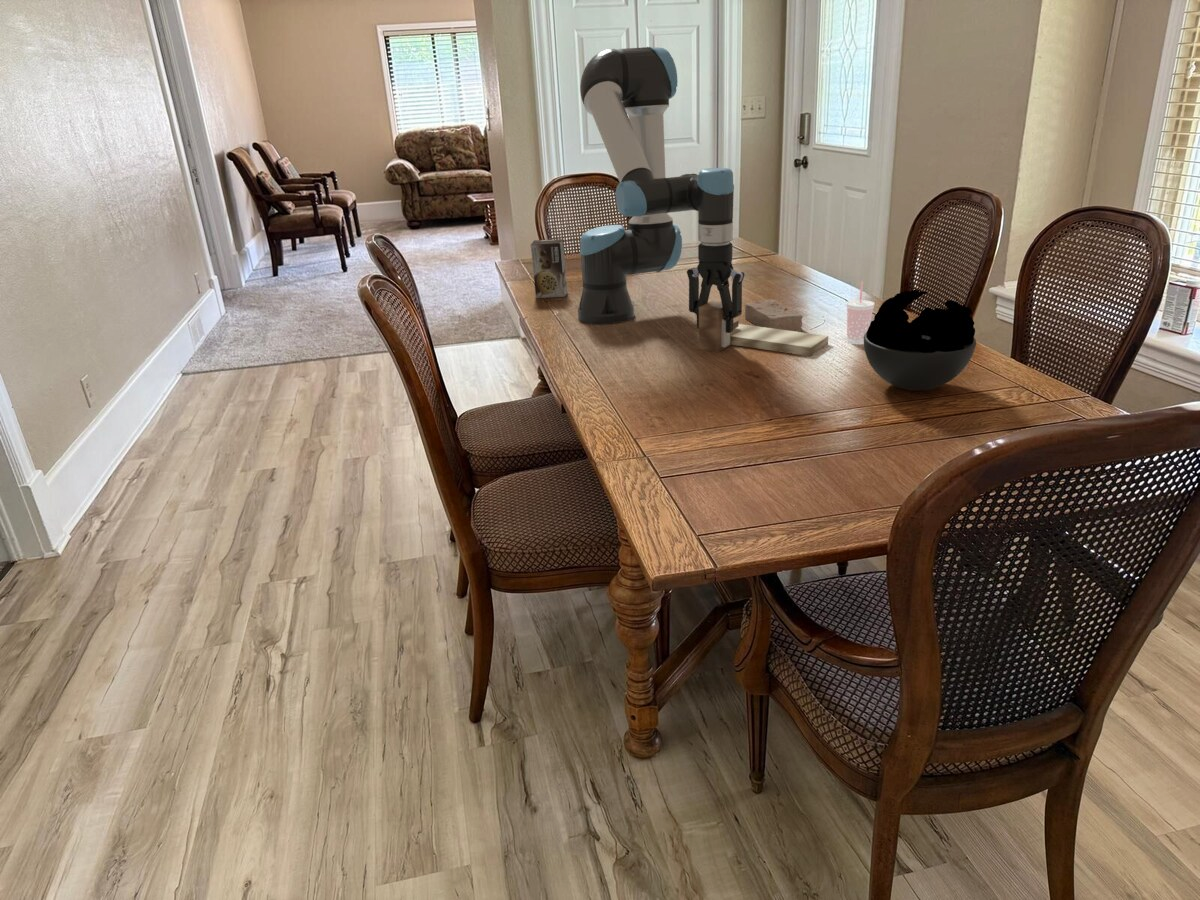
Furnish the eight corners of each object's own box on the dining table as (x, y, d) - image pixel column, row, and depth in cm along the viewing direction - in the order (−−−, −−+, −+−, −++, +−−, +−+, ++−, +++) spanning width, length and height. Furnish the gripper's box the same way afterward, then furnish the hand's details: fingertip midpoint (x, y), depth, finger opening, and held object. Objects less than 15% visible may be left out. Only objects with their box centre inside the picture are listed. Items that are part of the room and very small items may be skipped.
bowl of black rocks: (848, 372, 166) (855, 282, 158) (946, 368, 165) (958, 277, 157) (875, 408, 148) (885, 308, 140) (986, 404, 147) (1002, 303, 139)
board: (707, 340, 191) (707, 332, 190) (727, 330, 198) (727, 322, 198) (810, 356, 177) (810, 347, 176) (827, 344, 184) (828, 335, 183)
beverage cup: (851, 336, 189) (856, 276, 183) (876, 340, 185) (881, 280, 179) (838, 342, 185) (842, 282, 179) (862, 347, 181) (867, 285, 175)
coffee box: (567, 292, 244) (564, 238, 238) (564, 297, 239) (561, 242, 232) (538, 293, 245) (533, 239, 239) (534, 298, 240) (530, 243, 233)
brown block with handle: (698, 349, 186) (698, 306, 182) (725, 334, 195) (726, 294, 191) (717, 352, 183) (718, 309, 179) (744, 337, 192) (745, 296, 188)
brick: (803, 332, 195) (804, 313, 193) (772, 336, 193) (773, 317, 191) (772, 316, 210) (773, 298, 208) (743, 320, 208) (743, 302, 206)
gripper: (671, 242, 179) (673, 343, 189) (744, 248, 169) (742, 353, 178) (688, 237, 184) (689, 335, 194) (760, 242, 174) (757, 345, 184)
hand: (714, 343), depth 186 cm, fingers closed on brown block with handle, 5 cm apart
